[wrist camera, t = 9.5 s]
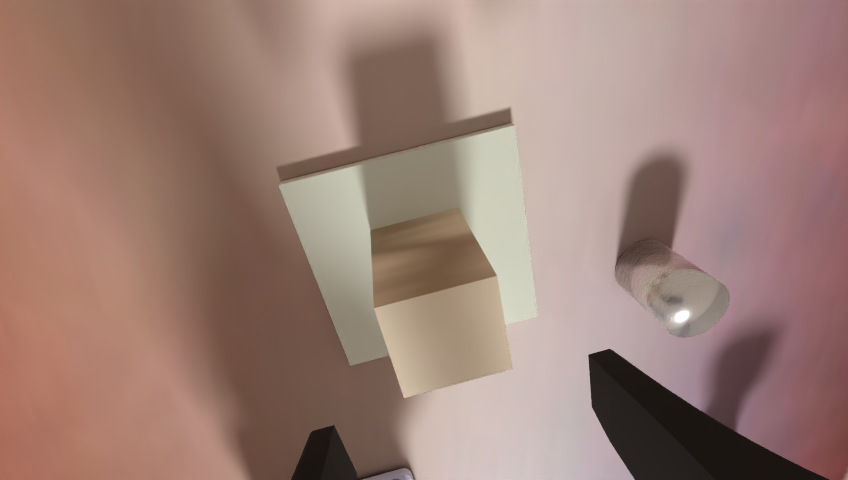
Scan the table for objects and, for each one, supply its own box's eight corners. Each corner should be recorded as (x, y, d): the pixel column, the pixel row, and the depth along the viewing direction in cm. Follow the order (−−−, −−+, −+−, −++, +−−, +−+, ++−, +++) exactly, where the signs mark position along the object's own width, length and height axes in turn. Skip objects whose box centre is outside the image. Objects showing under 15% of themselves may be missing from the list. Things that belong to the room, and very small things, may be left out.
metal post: (615, 296, 23) (662, 344, 19) (614, 248, 21) (665, 290, 18) (668, 282, 23) (725, 327, 19) (670, 233, 21) (733, 272, 18)
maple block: (392, 303, 20) (403, 398, 15) (370, 230, 19) (373, 308, 13) (472, 282, 20) (512, 368, 15) (458, 207, 19) (497, 275, 13)
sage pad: (350, 359, 22) (350, 366, 22) (280, 181, 18) (278, 185, 17) (534, 310, 22) (537, 316, 22) (511, 123, 18) (514, 125, 17)
